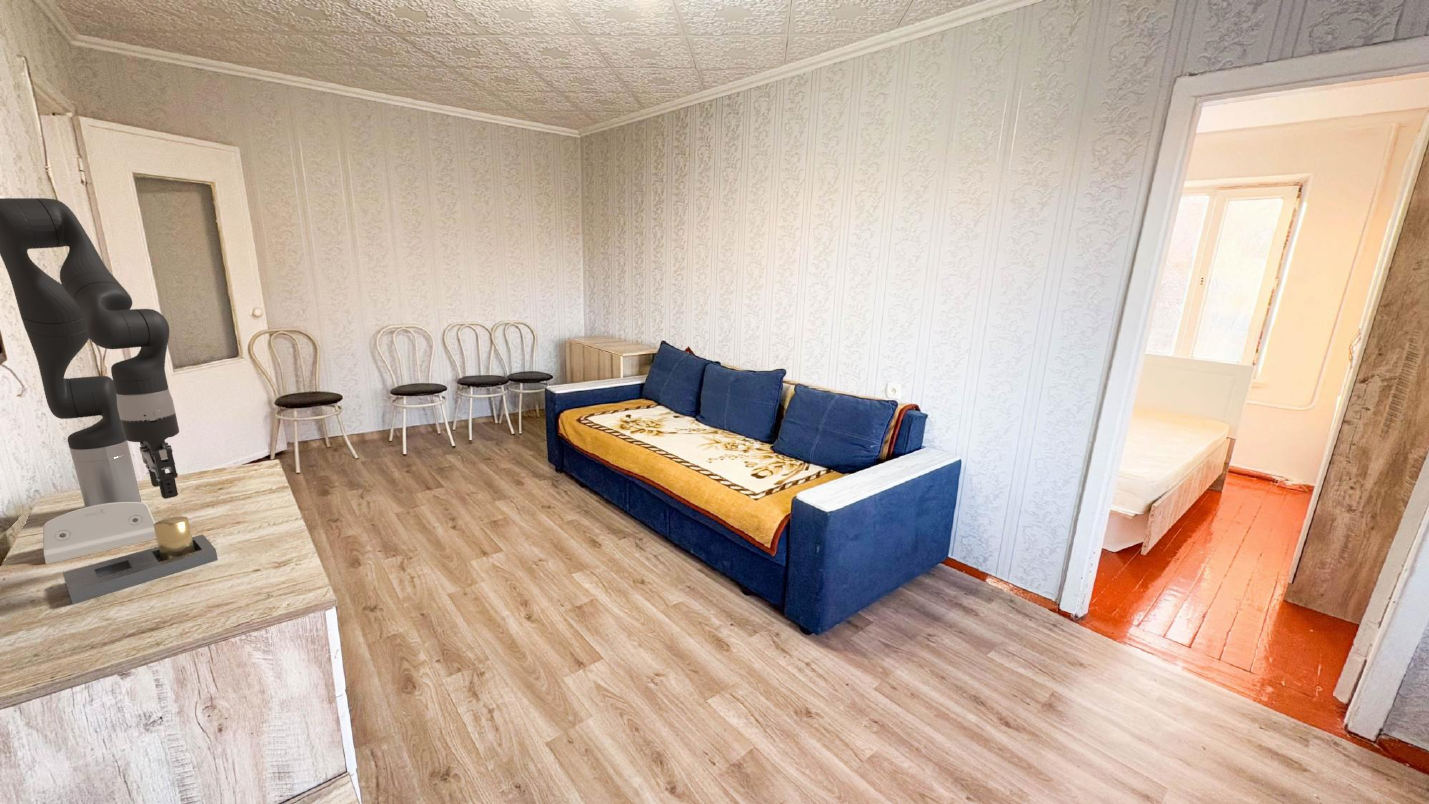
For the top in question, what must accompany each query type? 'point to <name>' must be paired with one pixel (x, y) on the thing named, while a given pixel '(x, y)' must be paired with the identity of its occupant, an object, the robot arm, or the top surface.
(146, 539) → the grey curved housing
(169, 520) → the cylinder
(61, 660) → the top surface
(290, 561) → the top surface
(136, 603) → the top surface
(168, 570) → the grey flat block
